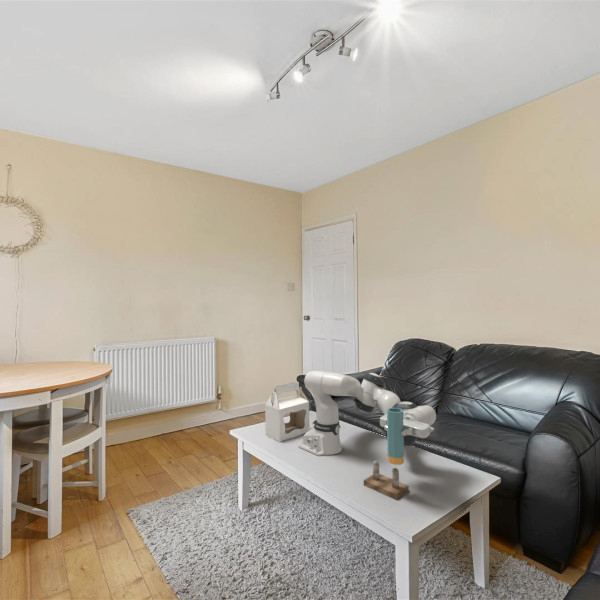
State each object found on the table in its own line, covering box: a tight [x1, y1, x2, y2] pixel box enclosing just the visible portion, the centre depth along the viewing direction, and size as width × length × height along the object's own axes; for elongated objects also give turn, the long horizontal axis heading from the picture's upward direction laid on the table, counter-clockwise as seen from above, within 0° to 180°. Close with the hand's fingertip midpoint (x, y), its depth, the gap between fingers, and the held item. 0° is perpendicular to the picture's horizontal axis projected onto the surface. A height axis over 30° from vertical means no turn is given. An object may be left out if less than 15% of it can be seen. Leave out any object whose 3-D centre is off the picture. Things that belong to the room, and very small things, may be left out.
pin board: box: [363, 460, 409, 501], centre depth 141 cm, size 15×9×9 cm, turn 43°
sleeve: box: [386, 408, 405, 466], centre depth 138 cm, size 6×6×20 cm
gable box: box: [264, 381, 310, 443], centre depth 201 cm, size 22×13×28 cm, turn 131°
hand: (394, 431), depth 137 cm, fingers closed on sleeve, 6 cm apart
